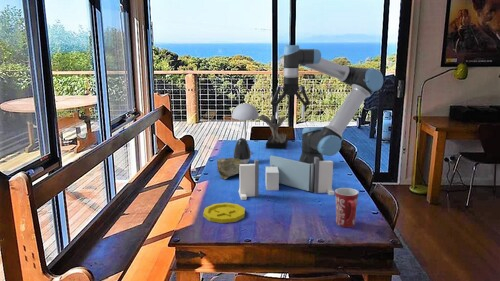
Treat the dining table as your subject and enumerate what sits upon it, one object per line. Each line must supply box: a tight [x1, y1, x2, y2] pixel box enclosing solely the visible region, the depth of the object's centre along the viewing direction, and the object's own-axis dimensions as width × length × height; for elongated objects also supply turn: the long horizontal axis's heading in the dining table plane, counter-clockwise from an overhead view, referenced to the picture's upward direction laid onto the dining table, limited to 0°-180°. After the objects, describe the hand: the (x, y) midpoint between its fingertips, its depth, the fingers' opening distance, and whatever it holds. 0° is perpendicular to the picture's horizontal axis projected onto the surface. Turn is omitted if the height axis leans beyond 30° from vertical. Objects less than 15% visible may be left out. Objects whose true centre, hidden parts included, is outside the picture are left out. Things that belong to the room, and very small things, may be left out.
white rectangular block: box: [265, 166, 280, 191], centre depth 204 cm, size 6×10×9 cm, turn 0°
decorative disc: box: [203, 202, 246, 224], centre depth 172 cm, size 17×18×2 cm
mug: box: [334, 187, 360, 228], centre depth 160 cm, size 13×9×14 cm
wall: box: [238, 157, 336, 201], centre depth 194 cm, size 44×10×17 cm, turn 98°
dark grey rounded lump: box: [232, 137, 252, 164], centre depth 244 cm, size 10×10×15 cm
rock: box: [216, 157, 245, 181], centre depth 221 cm, size 19×10×10 cm
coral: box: [258, 114, 289, 150], centre depth 287 cm, size 25×20×21 cm
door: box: [269, 155, 314, 193], centre depth 203 cm, size 26×3×14 cm, turn 48°
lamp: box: [231, 102, 259, 155], centre depth 264 cm, size 17×17×33 cm
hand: (289, 118), depth 213 cm, fingers open, 13 cm apart
